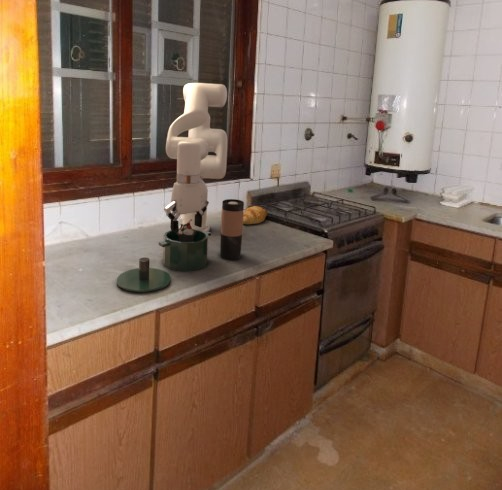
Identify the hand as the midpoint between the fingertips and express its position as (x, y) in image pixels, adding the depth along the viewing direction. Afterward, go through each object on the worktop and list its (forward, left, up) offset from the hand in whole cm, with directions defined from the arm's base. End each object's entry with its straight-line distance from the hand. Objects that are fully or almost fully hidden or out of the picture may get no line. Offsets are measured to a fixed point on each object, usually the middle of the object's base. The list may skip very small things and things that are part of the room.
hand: (186, 228), depth 146 cm
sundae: (0, 0, -11) cm, 11 cm away
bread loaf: (-21, +54, -12) cm, 59 cm away
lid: (+5, -19, -11) cm, 23 cm away
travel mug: (+5, +16, -12) cm, 21 cm away
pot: (0, 0, -12) cm, 12 cm away
